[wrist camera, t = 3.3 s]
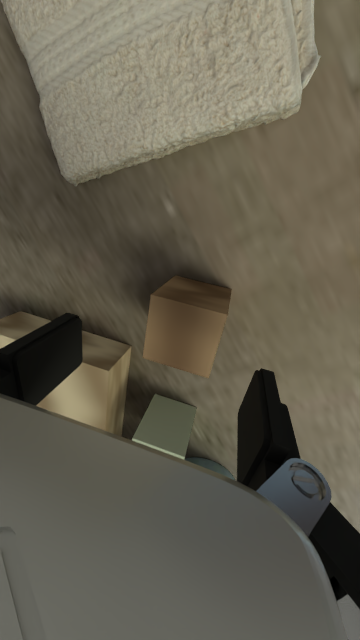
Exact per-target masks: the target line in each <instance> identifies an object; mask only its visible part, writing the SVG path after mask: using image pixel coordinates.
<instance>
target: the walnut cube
mask: <svg viewBox="0 0 360 640" xmlns="http://www.w3.org/2000/svg"><path fill="white" fill-rule="evenodd" d="M230 296H231V289H228V288H224V287H220V286H216V285H212V284H208V283H204V282H200V281H196V280H192V279H188V278H184V277H179V276H174V277H173V278H172V279H170V280H169V281H168V282H166V283H165V284H164V285H163V286H161V287H160V288H159V289H157V290H156V291H155V292H154V293H152V294H151V298H150V305H149V313H148V321H147V329H146V336H145V344H144V352H143V358H145V359H148V360H151V361H155V362H158V363H161V364H164V365H167V366H171V367H174V368H177V369H180V370H183V371H187V372H190V373H193V374H196V375H199V376H203V377H206V378H209V375H210V372H211V368H212V365H213V362H214V359H215V355H216V352H217V349H218V345H219V342H220V339H221V335H222V332H223V329H224V325H225V322H226V319H227V315H228V309H229V303H230Z"/></svg>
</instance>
